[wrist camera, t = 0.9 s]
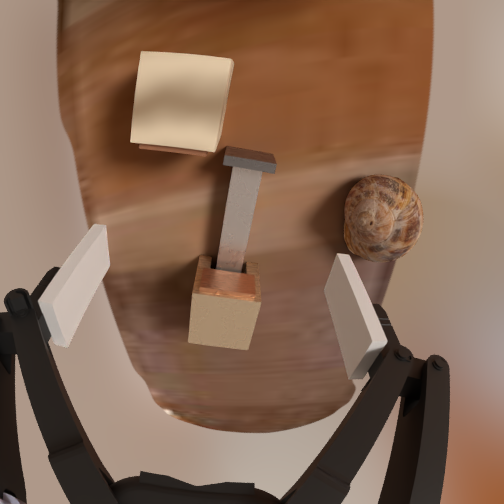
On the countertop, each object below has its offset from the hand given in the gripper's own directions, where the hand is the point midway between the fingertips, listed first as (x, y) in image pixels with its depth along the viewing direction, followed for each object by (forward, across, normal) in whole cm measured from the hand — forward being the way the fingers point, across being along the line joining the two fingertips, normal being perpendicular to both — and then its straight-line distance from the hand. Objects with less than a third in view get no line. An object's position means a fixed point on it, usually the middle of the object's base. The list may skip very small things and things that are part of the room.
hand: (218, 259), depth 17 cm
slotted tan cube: (+19, -5, +7) cm, 21 cm away
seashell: (+19, +18, -3) cm, 26 cm away
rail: (+18, +1, -10) cm, 21 cm away
